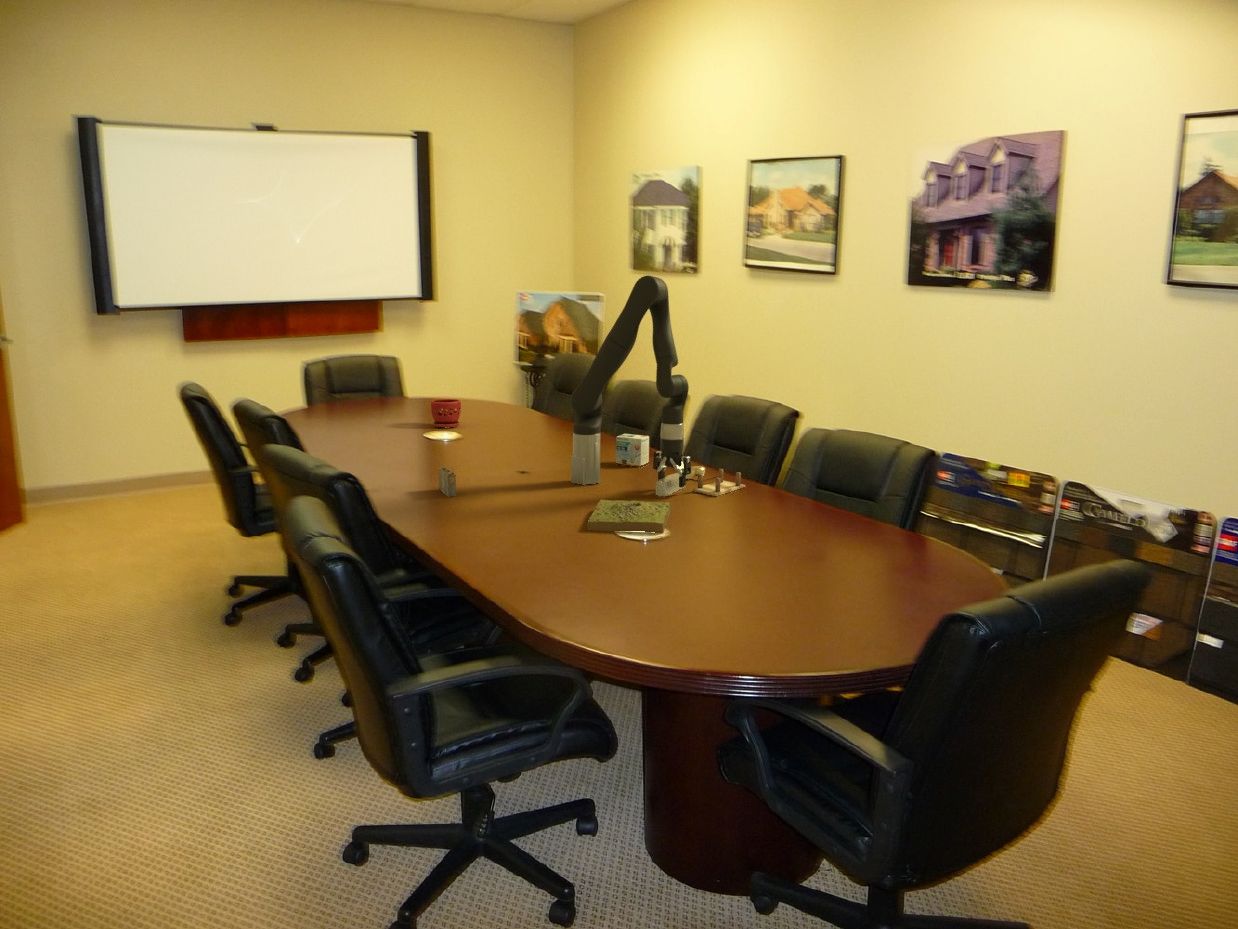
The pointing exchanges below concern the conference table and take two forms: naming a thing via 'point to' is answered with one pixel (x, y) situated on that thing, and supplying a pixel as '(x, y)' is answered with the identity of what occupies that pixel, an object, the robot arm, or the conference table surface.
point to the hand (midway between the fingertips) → (671, 484)
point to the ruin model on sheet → (447, 481)
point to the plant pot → (446, 412)
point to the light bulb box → (632, 449)
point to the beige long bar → (695, 471)
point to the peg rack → (718, 485)
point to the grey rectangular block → (668, 485)
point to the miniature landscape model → (629, 516)
